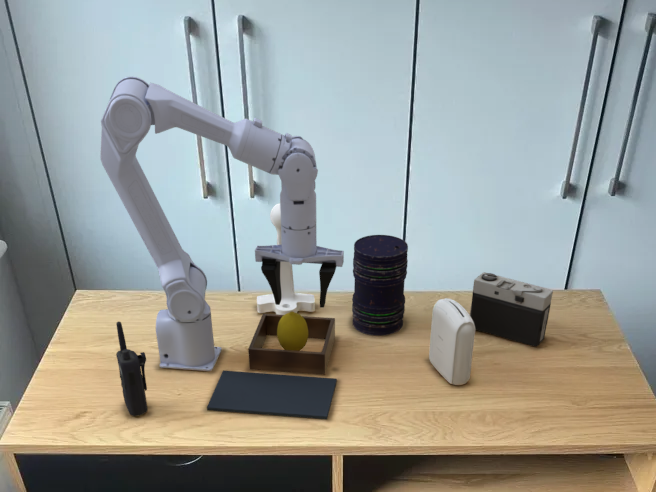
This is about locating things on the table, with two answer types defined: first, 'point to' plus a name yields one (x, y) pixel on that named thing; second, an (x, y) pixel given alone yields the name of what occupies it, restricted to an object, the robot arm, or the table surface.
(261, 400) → the mat
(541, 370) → the table surface
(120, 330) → the two-way radio
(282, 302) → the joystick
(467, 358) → the photo printer
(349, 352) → the table surface
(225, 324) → the table surface
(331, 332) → the wooden frame
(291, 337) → the lemon
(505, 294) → the camera
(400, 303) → the dark navy cylinder
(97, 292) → the table surface
